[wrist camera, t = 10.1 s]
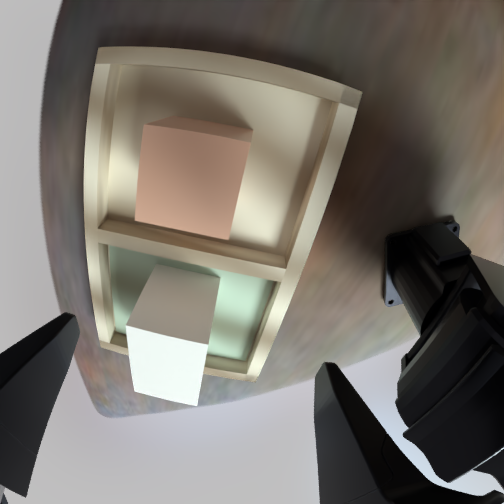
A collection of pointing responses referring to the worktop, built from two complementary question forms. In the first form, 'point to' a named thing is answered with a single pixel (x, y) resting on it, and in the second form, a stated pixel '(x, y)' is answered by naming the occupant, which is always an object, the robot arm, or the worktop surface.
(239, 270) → the slot cradle
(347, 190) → the worktop surface
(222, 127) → the terracotta block
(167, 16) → the worktop surface
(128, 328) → the block
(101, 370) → the worktop surface
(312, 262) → the worktop surface
